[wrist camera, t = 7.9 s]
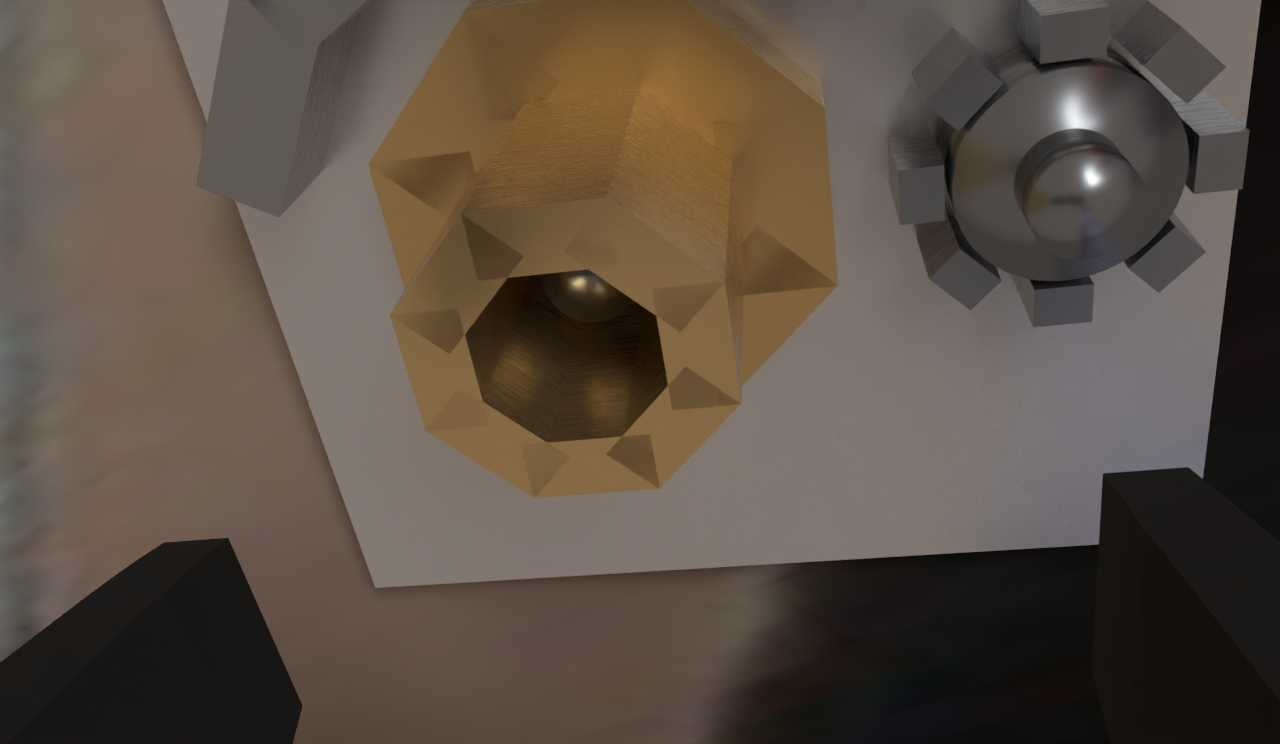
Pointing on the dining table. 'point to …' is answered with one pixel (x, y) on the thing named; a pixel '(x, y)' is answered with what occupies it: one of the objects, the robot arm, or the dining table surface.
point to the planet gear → (602, 232)
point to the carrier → (841, 325)
